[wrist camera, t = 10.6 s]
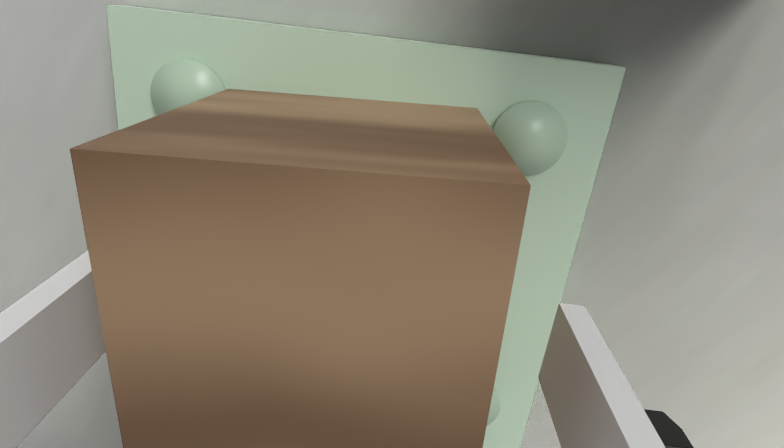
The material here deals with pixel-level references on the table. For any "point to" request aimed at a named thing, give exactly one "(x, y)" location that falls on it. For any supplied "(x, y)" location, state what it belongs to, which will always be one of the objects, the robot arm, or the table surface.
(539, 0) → the table surface
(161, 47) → the baseplate
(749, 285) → the table surface
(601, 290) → the table surface
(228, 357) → the walnut brick
